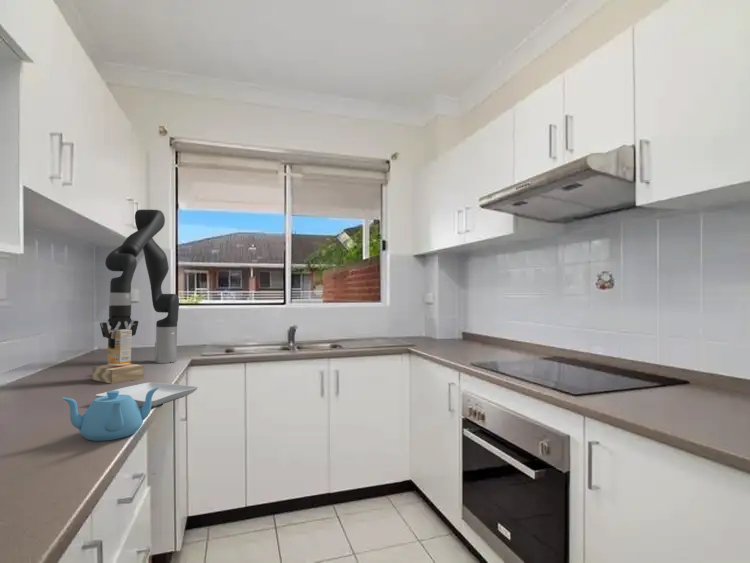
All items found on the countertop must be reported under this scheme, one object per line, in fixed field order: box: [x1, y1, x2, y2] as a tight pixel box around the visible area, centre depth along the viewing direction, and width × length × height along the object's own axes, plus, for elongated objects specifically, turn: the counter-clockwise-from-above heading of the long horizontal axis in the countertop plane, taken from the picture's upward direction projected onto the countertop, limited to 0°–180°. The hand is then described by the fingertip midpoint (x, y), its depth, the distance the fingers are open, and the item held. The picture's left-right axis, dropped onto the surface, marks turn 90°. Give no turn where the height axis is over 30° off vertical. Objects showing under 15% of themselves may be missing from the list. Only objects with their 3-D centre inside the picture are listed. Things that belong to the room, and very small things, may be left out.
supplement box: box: [106, 328, 133, 364], centre depth 168 cm, size 8×5×13 cm, turn 62°
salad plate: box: [95, 382, 198, 408], centre depth 136 cm, size 21×21×3 cm
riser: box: [91, 363, 145, 385], centre depth 167 cm, size 14×12×5 cm
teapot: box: [61, 387, 159, 442], centre depth 103 cm, size 15×15×10 cm
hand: (119, 347), depth 168 cm, fingers closed on supplement box, 5 cm apart
